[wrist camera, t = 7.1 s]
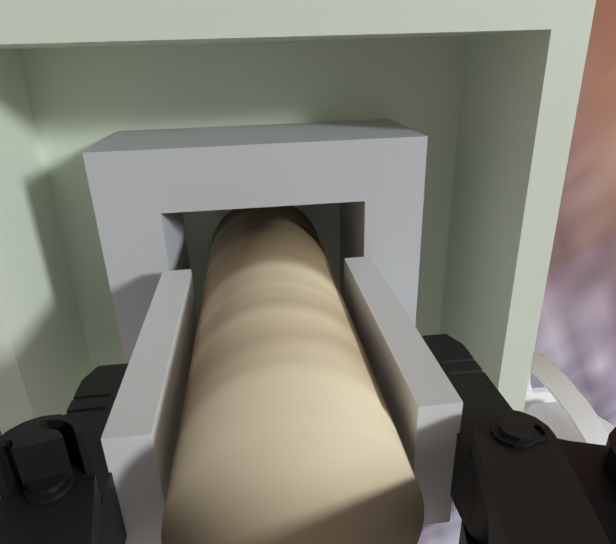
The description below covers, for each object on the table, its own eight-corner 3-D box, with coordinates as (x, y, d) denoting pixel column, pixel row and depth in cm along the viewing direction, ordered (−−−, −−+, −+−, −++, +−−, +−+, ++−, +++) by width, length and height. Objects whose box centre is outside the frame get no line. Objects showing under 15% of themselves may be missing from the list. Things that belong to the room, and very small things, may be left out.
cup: (484, 494, 27) (577, 663, 19) (425, 351, 22) (513, 496, 15) (610, 441, 26) (754, 593, 19) (572, 286, 22) (738, 401, 15)
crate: (-12, 15, 16) (-150, -7, 10) (485, 3, 17) (599, -20, 12) (92, 426, 22) (41, 550, 16) (446, 391, 23) (508, 493, 18)
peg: (205, 202, 18) (141, 444, 7) (318, 195, 18) (433, 415, 7) (216, 303, 19) (180, 634, 8) (320, 295, 20) (416, 601, 9)
